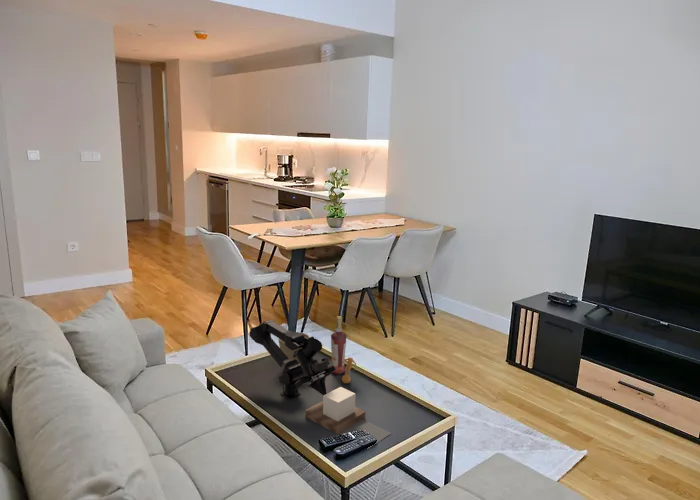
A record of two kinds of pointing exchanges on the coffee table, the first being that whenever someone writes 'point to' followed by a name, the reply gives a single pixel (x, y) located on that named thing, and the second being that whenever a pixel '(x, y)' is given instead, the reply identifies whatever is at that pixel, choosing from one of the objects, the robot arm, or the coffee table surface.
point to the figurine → (346, 377)
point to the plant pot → (287, 351)
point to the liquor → (338, 347)
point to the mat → (369, 430)
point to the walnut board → (335, 426)
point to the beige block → (339, 403)
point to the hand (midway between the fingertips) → (325, 395)
